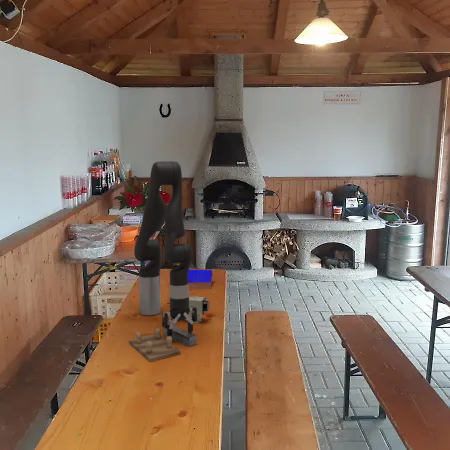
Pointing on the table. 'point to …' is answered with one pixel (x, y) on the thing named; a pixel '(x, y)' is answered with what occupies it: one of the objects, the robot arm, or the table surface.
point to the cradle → (154, 346)
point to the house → (200, 279)
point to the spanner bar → (182, 336)
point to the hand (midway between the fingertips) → (180, 335)
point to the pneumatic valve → (199, 306)
